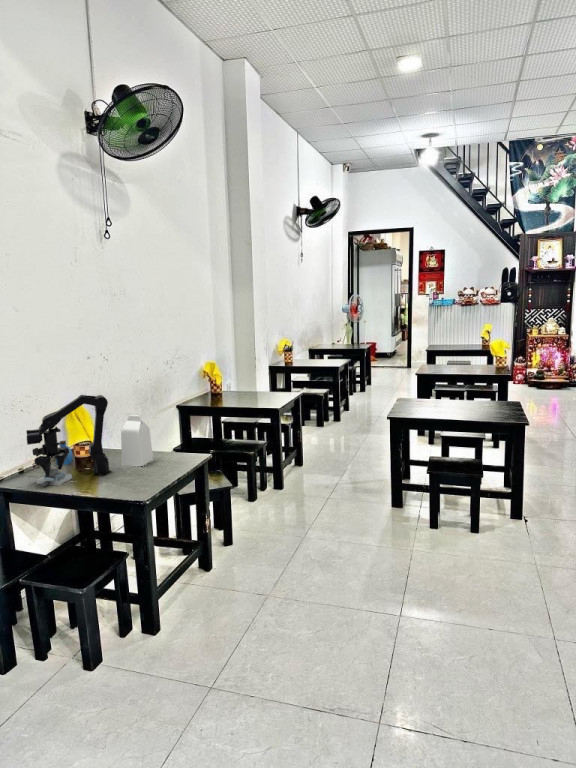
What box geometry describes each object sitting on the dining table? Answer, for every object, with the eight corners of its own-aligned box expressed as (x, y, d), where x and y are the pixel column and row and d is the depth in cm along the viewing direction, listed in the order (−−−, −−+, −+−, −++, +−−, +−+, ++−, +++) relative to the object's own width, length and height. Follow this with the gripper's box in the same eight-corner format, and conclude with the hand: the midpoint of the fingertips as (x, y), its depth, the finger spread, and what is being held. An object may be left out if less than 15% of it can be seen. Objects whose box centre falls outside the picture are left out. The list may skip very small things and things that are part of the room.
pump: (61, 475, 260) (60, 465, 259) (55, 478, 256) (54, 468, 255) (53, 475, 261) (52, 465, 260) (47, 478, 257) (46, 468, 256)
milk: (121, 465, 280) (118, 417, 275) (134, 459, 290) (130, 412, 286) (141, 467, 276) (138, 418, 272) (153, 460, 287) (150, 413, 283)
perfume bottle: (56, 464, 283) (54, 443, 281) (61, 461, 289) (59, 439, 287) (68, 464, 284) (66, 442, 281) (72, 460, 290) (70, 439, 288)
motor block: (72, 478, 262) (71, 470, 261) (53, 488, 249) (52, 480, 248) (50, 476, 265) (49, 469, 264) (31, 486, 251) (30, 478, 251)
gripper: (48, 435, 266) (51, 465, 269) (22, 446, 248) (26, 478, 251) (68, 436, 263) (71, 466, 266) (43, 447, 246) (46, 479, 248)
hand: (54, 472), depth 258 cm, fingers open, 9 cm apart
